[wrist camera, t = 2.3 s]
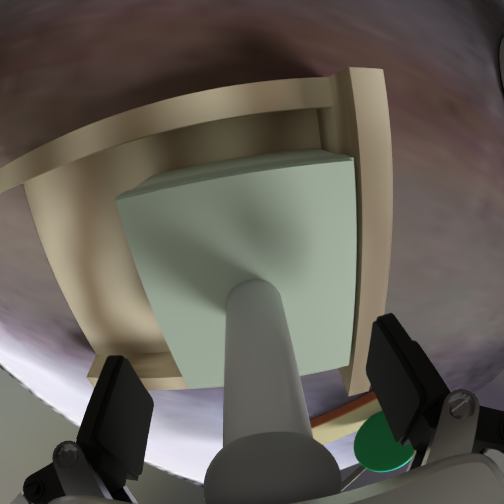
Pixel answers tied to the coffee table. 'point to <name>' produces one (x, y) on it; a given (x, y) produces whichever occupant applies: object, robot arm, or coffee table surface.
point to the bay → (191, 154)
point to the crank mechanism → (363, 435)
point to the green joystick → (253, 303)
